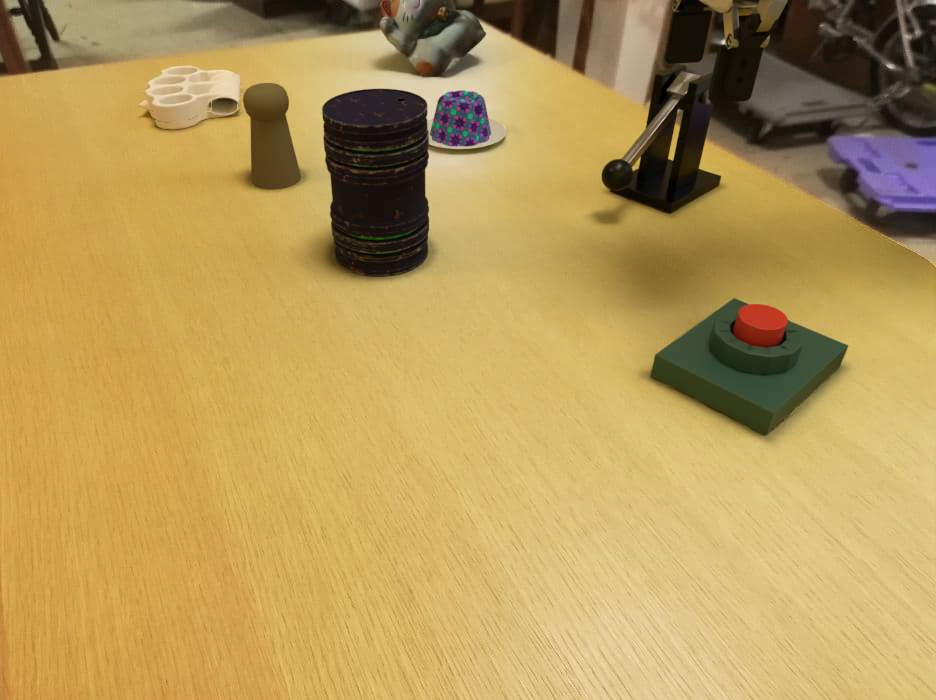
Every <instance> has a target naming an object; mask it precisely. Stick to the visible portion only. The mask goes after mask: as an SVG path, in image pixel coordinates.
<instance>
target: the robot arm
mask: <svg viewBox="0 0 936 700" xmlns="http://www.w3.org/2000/svg"><path fill="white" fill-rule="evenodd" d="M788 1H789V0H672V2H671V6H672V7H671V8H672V10H673V11H672V13H671V18H670V23H669V28H668V33H667V40H666V46H665V51H664V56H663V61H664V62H665V63H666V64H669V65H675V64H676V65H678V64H693V63H700V62H701V61H702V60H703V58H704V54H705V49H706V44H707V39H708V36H709V35H708V34H709V30H710V25H711V21H712V16H713V10H714V11H715V12H717V13H720V14H722V17H723V20H722V21H723V32H724V44H725V45H718V47H717V52H716V57H715V60H714V66H713V71H712V72H713V74H712V79H711V83H710V88H709V92H708V100H709V101H711V102H712V103H714V104H722V103H724V104H725V103H737V102H738V103H739V102H740V103H741V102H748V101H749V100H750V99H751V98H752V95H753V91H754V87H755V83H756V79H757V75H758V73H759V68H760V64H761V60H762V57H763V52H764V50H765V49H764V48H767V47H768V46H769V43H770V40H771V35H772V33H773V32H774V31H775V30H776V29H777V26H779V17H780V16H781V14H782V12H783V10H784V9H785V7H786V5H787V3H788ZM708 8H710V9H708ZM711 9H712V10H711ZM739 16H740V17H742V16H747V17H746V19H745V20H744V21H743V23H742V24H741V25H740V18H739Z"/></svg>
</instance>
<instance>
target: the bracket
mask: <svg viewBox="0 0 936 700" xmlns="http://www.w3.org/2000/svg"><path fill="white" fill-rule="evenodd" d="M681 71H684V72H687V65H685V64H681V63H677V64H676V65H673V66H670V67H669V68H665V69H664V70H661V71H658V72H656V73H655V74H654V79H653V85H652V91H651V97H650V102H649V108H648V114H647V119H646V124H645V125H646V126H645V129H646V128H647V127H648V125H649V124H650V123H651V122H652V120H653V119H654V118H655V117H656V115H657V114H658V113H659V112H660V110H661V109H662V108H663V107H664V105H665V104H666V103H667V102H668V96H667V89H668V88H669V86H670V85H671V84H672V83H673V81H674V80H675V79H676V78H677V76H678V75H679V74H680V73H681ZM712 74H713V71H712V72H709V73H707V74H705V75H703V76H700V78H698V79H696V80H693V81H691V82H689V86H688V91H687V95H686V100H685V105H684V110H682V116H681V121H680V124H679V130H678V135H677V139H676V145H675V149H674V155H673V159H669V156H670V152H671V151H670V150H671V146H672V141H673V135H674V133H675V132H674V131H675V126H676V121H677V117H678V111H679V109H678V110H677V112H676V113H675V114H674V115H673V117H672V118H671V119H670V120H669V122H668V123H667V124H666V125H665V127H664V128H663V129H662V130H661V132H660V133H659V134H658V135H657V137H656V138H655V139H654V140H653V142H652V143H651V144H650V145H649V147H648V148H647V149H646V150H645V152H644V153H643V154H642V155H641V157H640V158H639V164H638V168H636V169H635V170H633V178H632V181H631V183H630V184H629V185H628V186H627V187H626V188H624V189H622V190H619V191H613V190H610V189H609V192H610V193H612V194H616V195H617V196H621V197H624V198H626V199H629V200H632V201H634V202H637V203H641V204H643V205H646V206H648V207H651V208H654V209H656V210H659V211H663V212H665V213H667V214H672V213H674V212H676V211H678V210H679V209H681V208H682V207H684V206H686V205H688V204H690V203H691V202H693V201H695V200H696V199H699V198H700V197H702V196H704V195H705V194H707V193H710V191H713V190H714V189H715V188H717V187H719V186H720V183H721V179H722V175H720V174H716V173H713V172H710V171H707V170H705V169H701V168H700V165H701V161H702V156H703V151H704V147H705V143H706V139H707V134H708V129H709V126H710V121H711V116H712V112H713V109H714V104H715V103H712V102H711V101H709V100H708V92H709V88H710V83H711V79H712Z"/></svg>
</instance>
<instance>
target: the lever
mask: <svg viewBox="0 0 936 700" xmlns="http://www.w3.org/2000/svg"><path fill="white" fill-rule="evenodd" d="M700 77H701V75H700V74H696V73H691V72H687V71H686V72H684V71H681V73H680V74H679V75H678V76H677V78H676V79H675V80H674V81H673V83H672V84H671V85H670V86H669V88H668V89H667V96H668V102H667V103H666V104H665V105H664V107H663V108H662V109H661V110H660V112H659V113H658V114H657V115H656V117H655V118H654V119H653V120H652V122H651V123H650V124H649V125H648V127H647V128H646V127H645V129H644V130H643V132H642V133H641V134H640V135H639V136H638V138H637V139H636V140H635V141H634V143H633V144H632V145H631V147H629V149H628V150H627V152H626V153H625V154H624V155H623V157H621V158H616V159H612V160H609V161H608V162H607V163H606V164H605V165H604V166H603V168H602V171H601V181H602V184H603V185H604V186H605V188H607V190H609V191H610V190H613V191H619V190H622V189H624V188H626V187H627V186H628V185H629V184H630V183H631V181H632V178H633V171H634V170H633V167H634V166H635V164H636V163H637V162H638V160H640V158H641V155H642V154H643V153H644V152H645V150H646V149H647V148H648V147H649V145H650V144H651V143H652V142H653V140H654V139H655V138H656V137H657V135H658V134H659V133H660V132H661V130H662V129H663V128H664V127H665V125H666V124H667V123H668V122H669V120H670V119H671V118H672V117H673V115H674V114H675V113H676V112H677V110H678V111H679V110H680V111H683V110H684V105H685V100H686V95H687V91H688V86H689V82H691V81H693V80H696V79H698V78H700ZM677 113H678V112H677Z"/></svg>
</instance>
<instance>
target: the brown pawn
mask: <svg viewBox="0 0 936 700" xmlns="http://www.w3.org/2000/svg"><path fill="white" fill-rule="evenodd" d="M242 95H243V97H242V103H243V108H244V110H245V113H246V114H247V116H248V117H249V118H250V119H249V120H250V121H249V122H250V124H249V125H250V171H251V172H250V175H251V176H250V177H251V178H250V179H251V184H253V185H254V186H256V187H258V188H260V189H261V188H262V189H266V190H276V189H284V188H287V187H291V186H293V185H296V184H297V183H298V182H299V181H300V180H301V178H302V174H301V171H300V168H299V163H298V158H297V155H296V151H295V147H294V143H293V139H292V134H291V131H290V126H289V123H288V119H287V113H288V110H289V108H290V107H289V106H290V99H289V95H288V92H287V91H286V89H285V88H284V86H282V85H280V84H278V83H275V82H261V83H255V84H252V85H250V86H249V87H247V88H246V89H245V90H244V93H243V94H242Z"/></svg>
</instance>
